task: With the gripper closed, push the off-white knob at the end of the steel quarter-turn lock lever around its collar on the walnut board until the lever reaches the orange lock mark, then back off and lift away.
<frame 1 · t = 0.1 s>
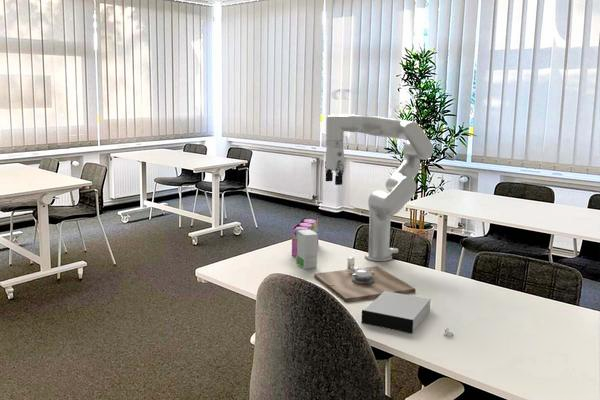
hand: (333, 182, 251), 37 cm above the table, tool pointing down, fingers open, 9 cm apart
disc drive: (396, 318, 200), on the table
skincare box: (307, 266, 254), on the table
adhesive hook: (451, 338, 184), on the table
mounting board: (362, 284, 231), on the table
lock lever: (358, 268, 234), point 5 cm above the table, hinge at 0.0°
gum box: (305, 251, 278), on the table
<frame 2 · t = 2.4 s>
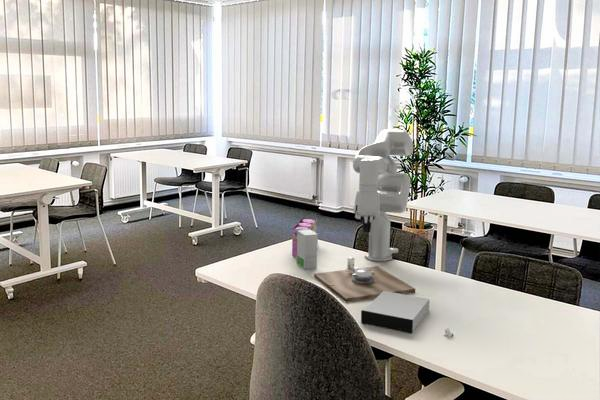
hand: (366, 231, 240), 19 cm above the table, tool pointing down, fingers closed
nothing on the table moved.
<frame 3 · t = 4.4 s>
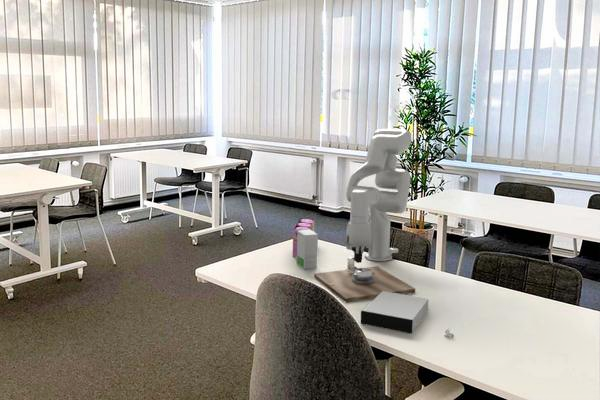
hand: (358, 261, 241), 6 cm above the table, tool pointing down, fingers closed
lock lever: (358, 268, 234), point 5 cm above the table, hinge at 0.1°, touching gripper
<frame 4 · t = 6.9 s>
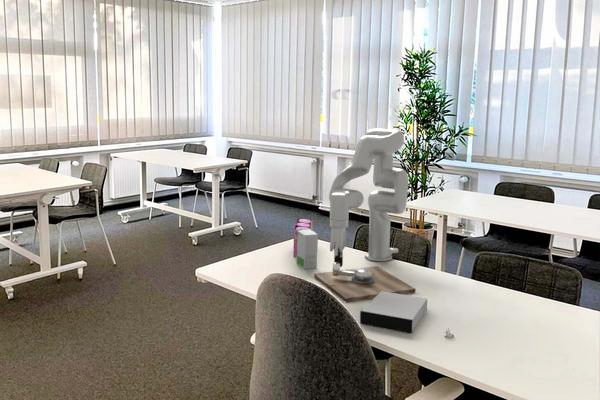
hand: (338, 265, 236), 6 cm above the table, tool pointing down, fingers closed
lock lever: (352, 270, 231), point 5 cm above the table, hinge at 54.2°, touching gripper
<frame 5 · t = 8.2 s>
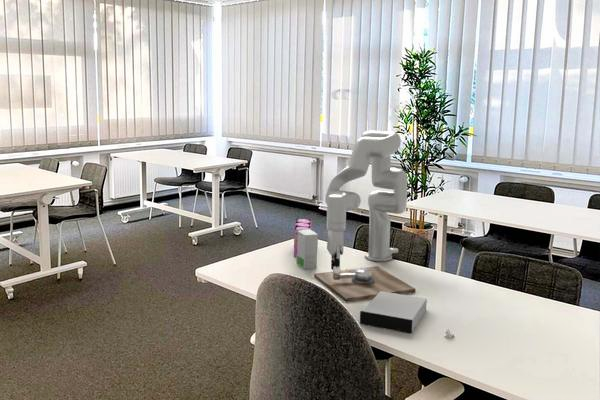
hand: (335, 269, 231), 6 cm above the table, tool pointing down, fingers closed
lock lever: (352, 272, 229), point 5 cm above the table, hinge at 78.9°, touching gripper
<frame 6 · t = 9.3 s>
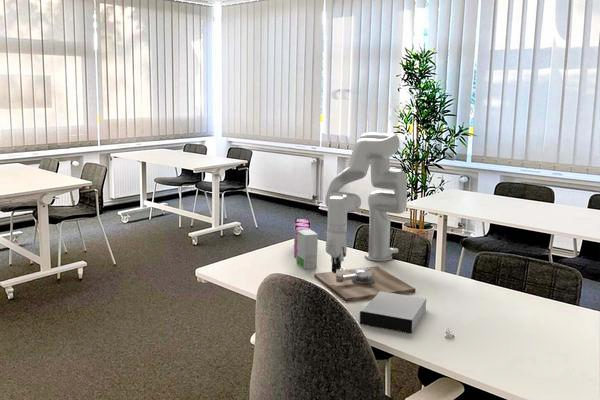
hand: (336, 272, 228), 6 cm above the table, tool pointing down, fingers closed
lock lever: (353, 273, 228), point 5 cm above the table, hinge at 95.2°, touching gripper
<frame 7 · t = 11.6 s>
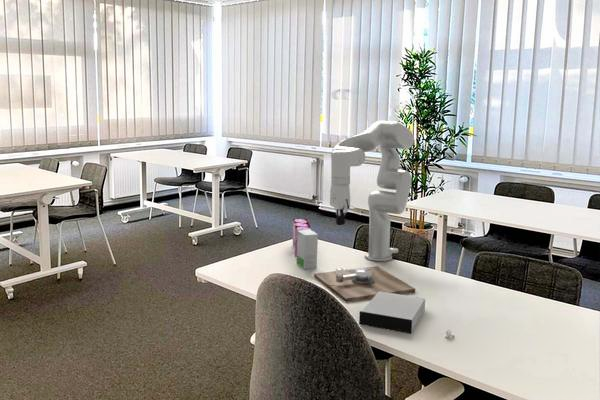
hand: (340, 224, 236), 23 cm above the table, tool pointing down, fingers closed
lock lever: (353, 273, 228), point 5 cm above the table, hinge at 95.3°
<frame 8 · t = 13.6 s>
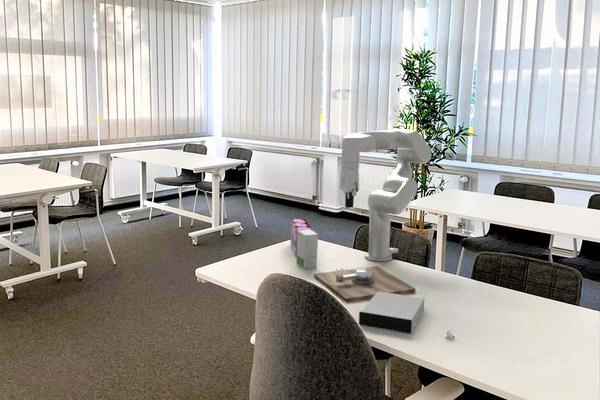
hand: (349, 207, 247), 27 cm above the table, tool pointing down, fingers closed
at the end: lock lever at +95° (first picture: +0°); the gripper is holding nothing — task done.
